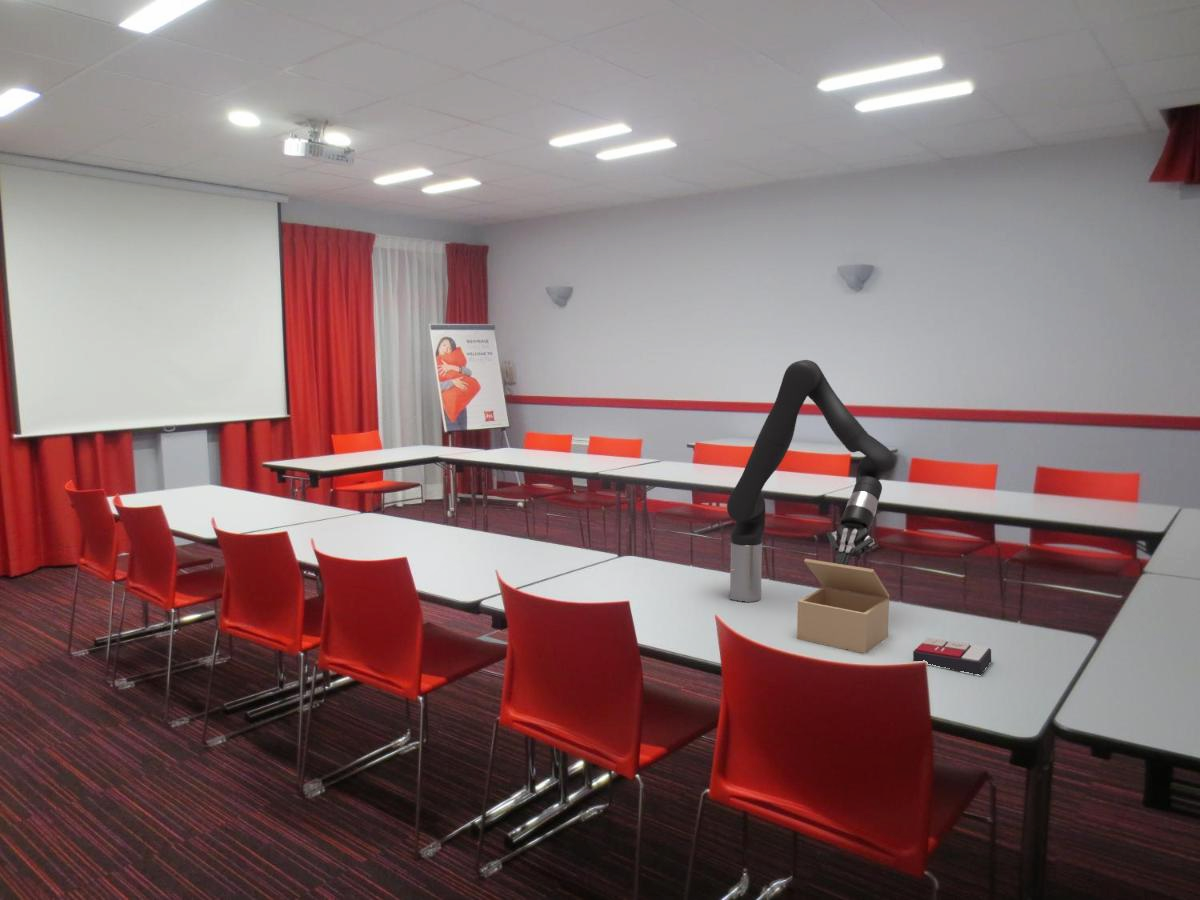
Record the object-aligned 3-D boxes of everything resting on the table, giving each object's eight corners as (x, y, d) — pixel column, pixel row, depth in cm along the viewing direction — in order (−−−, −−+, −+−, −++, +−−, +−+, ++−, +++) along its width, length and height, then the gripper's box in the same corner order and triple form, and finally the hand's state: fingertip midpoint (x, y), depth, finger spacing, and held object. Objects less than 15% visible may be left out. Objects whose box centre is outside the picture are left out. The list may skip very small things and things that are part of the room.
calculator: (926, 635, 201) (991, 645, 191) (926, 652, 201) (991, 663, 192) (912, 648, 192) (980, 659, 183) (912, 666, 192) (980, 677, 183)
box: (822, 622, 221) (823, 587, 220) (887, 636, 210) (889, 598, 209) (797, 638, 209) (797, 601, 208) (865, 653, 198) (866, 614, 196)
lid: (822, 586, 220) (823, 583, 220) (889, 598, 209) (889, 595, 209) (804, 561, 209) (804, 558, 209) (872, 572, 198) (873, 569, 198)
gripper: (832, 501, 215) (812, 555, 207) (881, 506, 207) (862, 562, 199) (839, 517, 220) (820, 571, 212) (887, 523, 212) (869, 579, 203)
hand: (840, 567), depth 205 cm, fingers closed
